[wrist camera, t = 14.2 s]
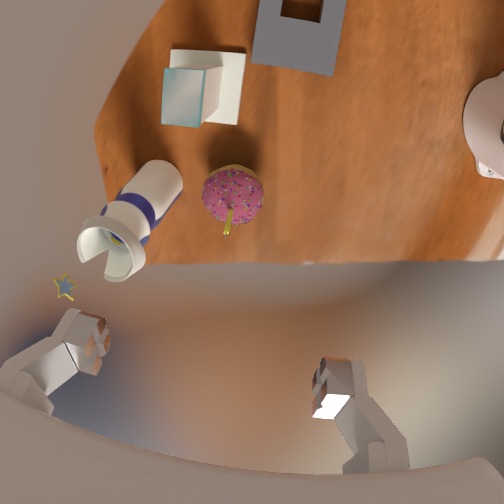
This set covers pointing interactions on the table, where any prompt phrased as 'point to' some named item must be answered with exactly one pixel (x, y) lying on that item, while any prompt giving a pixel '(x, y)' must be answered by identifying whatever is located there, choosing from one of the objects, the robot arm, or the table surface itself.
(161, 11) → the table surface
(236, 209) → the cupcake
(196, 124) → the plug
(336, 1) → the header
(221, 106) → the mat
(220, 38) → the table surface
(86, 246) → the water bottle
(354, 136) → the table surface
